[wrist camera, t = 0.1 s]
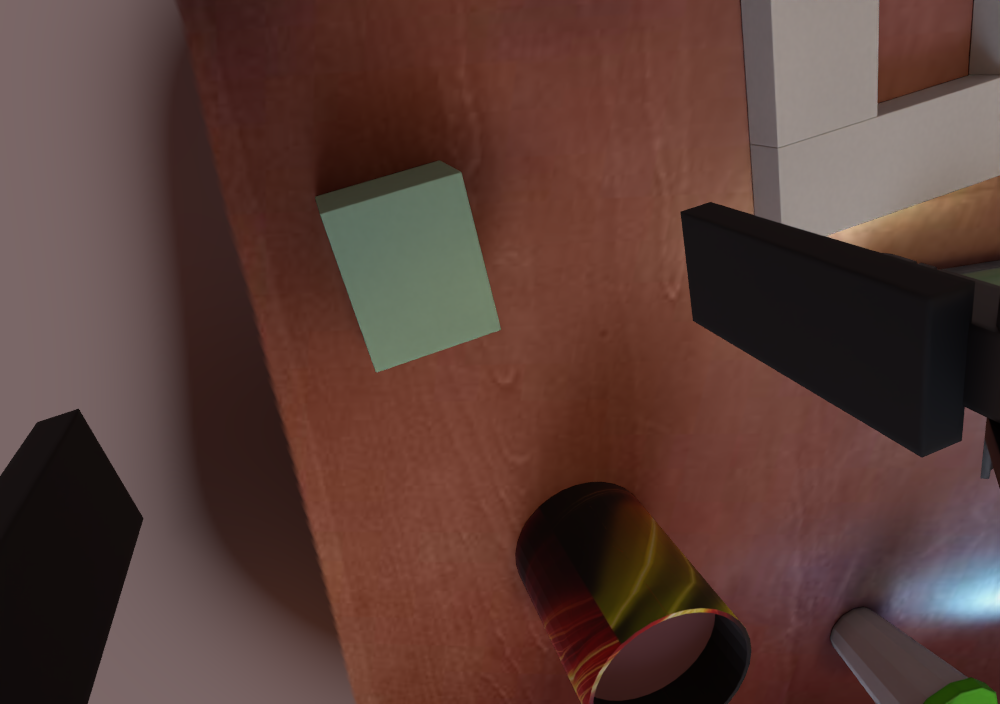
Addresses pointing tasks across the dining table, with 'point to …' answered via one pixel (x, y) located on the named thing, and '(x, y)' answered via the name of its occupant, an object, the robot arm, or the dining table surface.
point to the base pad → (858, 116)
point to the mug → (627, 604)
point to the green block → (410, 262)
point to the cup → (901, 665)
